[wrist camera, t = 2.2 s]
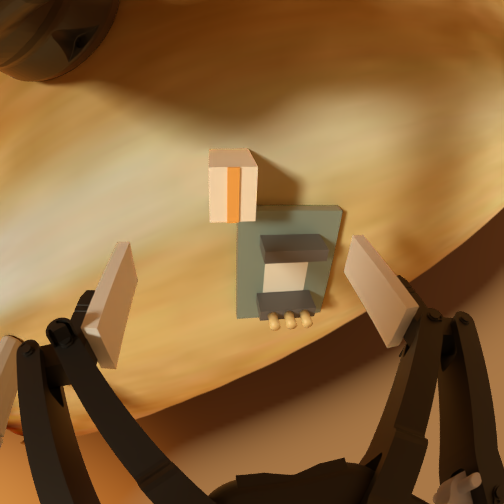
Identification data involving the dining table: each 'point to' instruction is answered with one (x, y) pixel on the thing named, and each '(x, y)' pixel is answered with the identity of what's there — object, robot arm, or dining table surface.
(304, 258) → the header board
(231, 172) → the plug
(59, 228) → the dining table surface
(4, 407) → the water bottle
